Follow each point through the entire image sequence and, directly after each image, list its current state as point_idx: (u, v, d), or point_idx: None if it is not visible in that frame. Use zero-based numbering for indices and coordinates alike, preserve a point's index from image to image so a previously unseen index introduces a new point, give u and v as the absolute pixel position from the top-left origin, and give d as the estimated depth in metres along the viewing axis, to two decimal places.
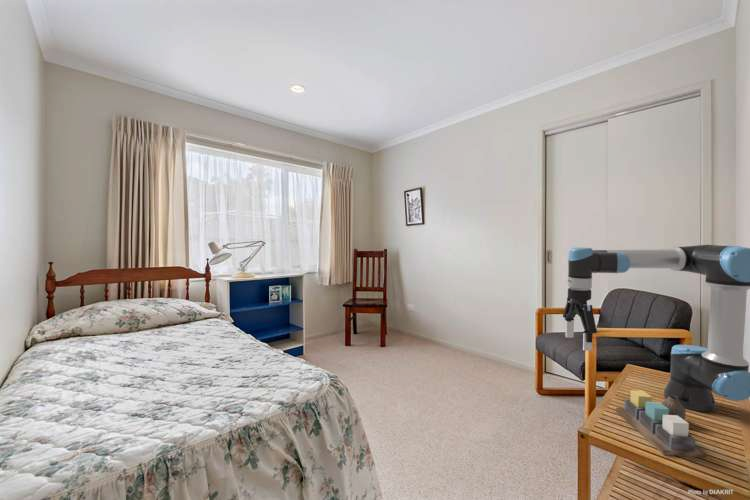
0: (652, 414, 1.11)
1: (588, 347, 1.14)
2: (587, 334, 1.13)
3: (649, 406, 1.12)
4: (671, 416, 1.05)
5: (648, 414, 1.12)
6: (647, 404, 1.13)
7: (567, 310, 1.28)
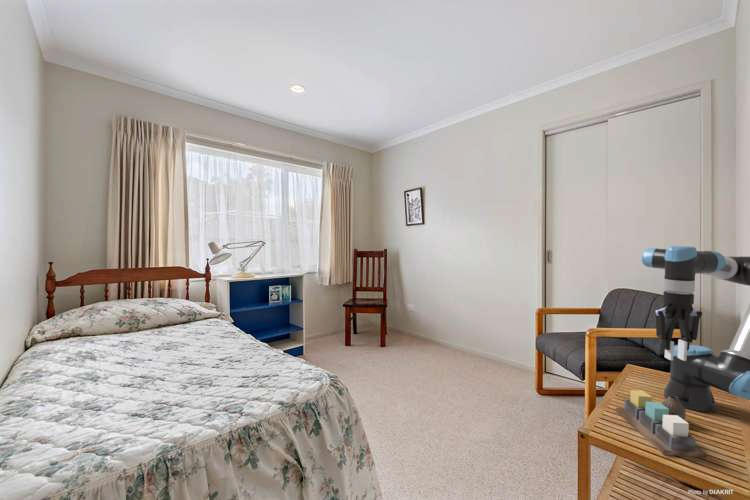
0: (652, 414, 1.11)
1: (667, 355, 1.10)
2: None
3: (649, 406, 1.12)
4: (671, 416, 1.05)
5: (648, 414, 1.12)
6: (647, 404, 1.13)
7: (689, 325, 1.09)
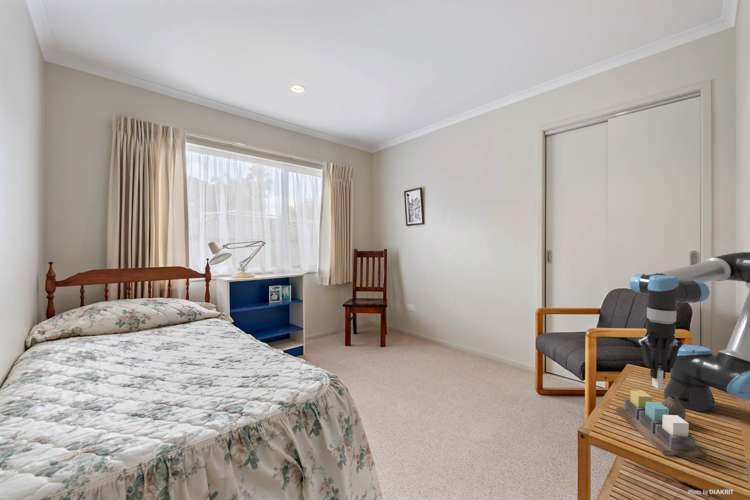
0: (652, 414, 1.11)
1: (655, 383, 1.11)
2: None
3: (649, 406, 1.12)
4: (671, 416, 1.05)
5: (648, 414, 1.12)
6: (647, 404, 1.13)
7: None
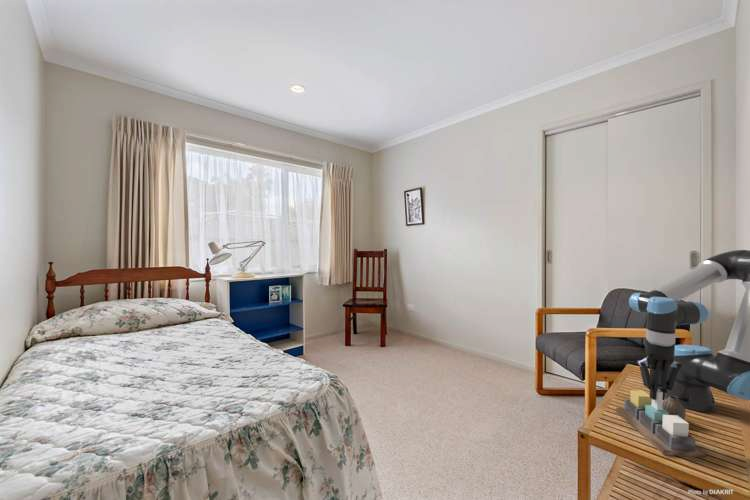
0: (651, 418, 1.11)
1: (654, 405, 1.11)
2: None
3: (649, 409, 1.12)
4: (671, 416, 1.05)
5: None
6: (647, 407, 1.13)
7: (667, 375, 1.11)
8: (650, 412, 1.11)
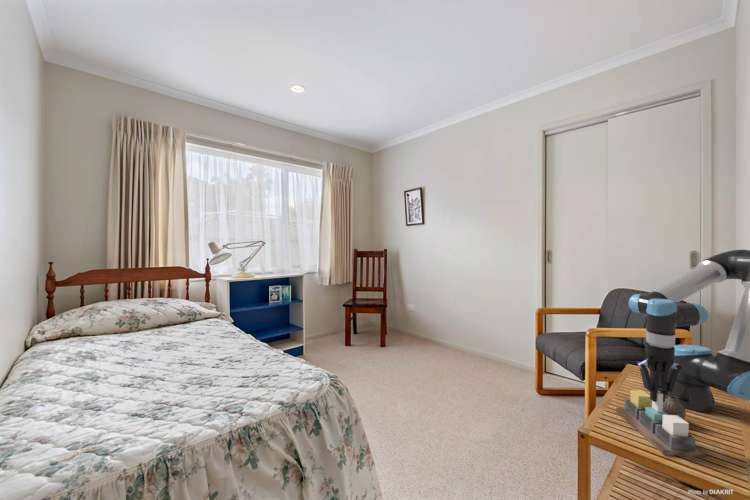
0: None
1: (655, 406, 1.11)
2: None
3: (649, 412, 1.12)
4: (671, 416, 1.05)
5: None
6: (647, 410, 1.13)
7: (667, 377, 1.11)
8: (650, 414, 1.11)
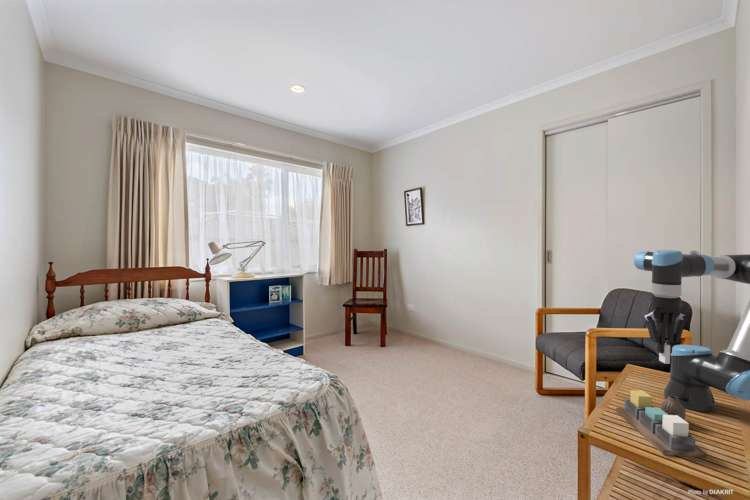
0: None
1: (662, 358, 1.11)
2: None
3: (649, 412, 1.12)
4: (671, 416, 1.05)
5: None
6: (647, 410, 1.13)
7: (674, 329, 1.10)
8: (650, 414, 1.11)
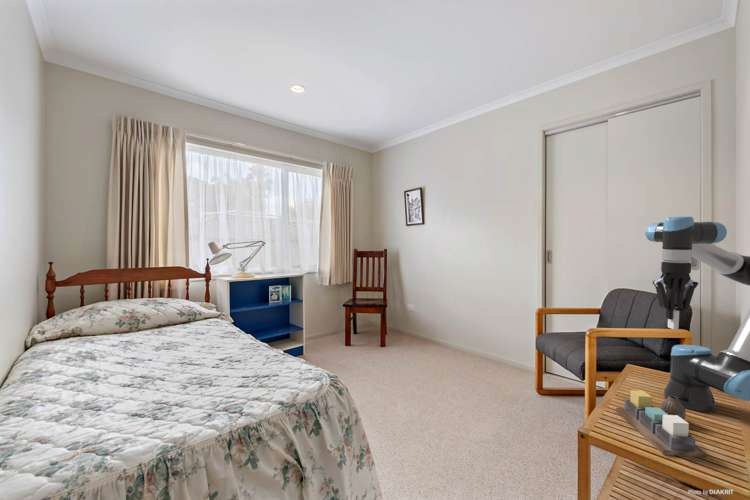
0: None
1: (670, 325, 1.11)
2: None
3: (649, 412, 1.12)
4: (671, 416, 1.05)
5: None
6: (647, 410, 1.13)
7: (683, 295, 1.11)
8: (650, 414, 1.11)
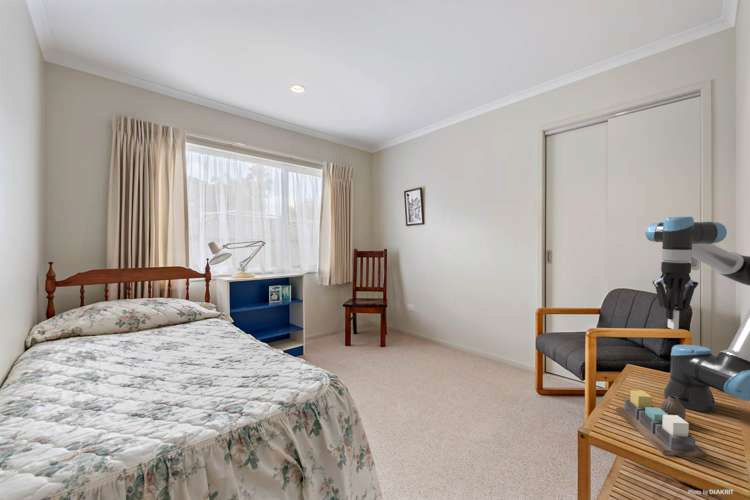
0: None
1: (670, 325, 1.11)
2: None
3: (649, 412, 1.12)
4: (671, 416, 1.05)
5: None
6: (647, 410, 1.13)
7: (683, 295, 1.11)
8: (650, 414, 1.11)
